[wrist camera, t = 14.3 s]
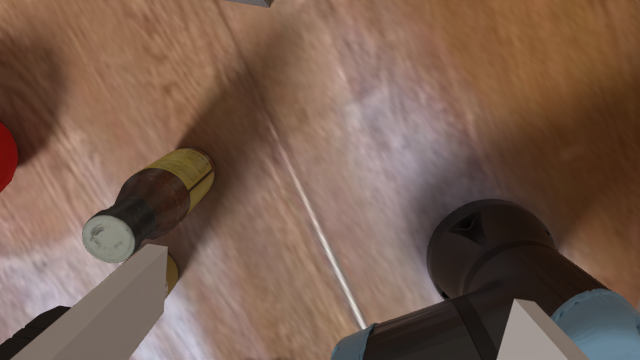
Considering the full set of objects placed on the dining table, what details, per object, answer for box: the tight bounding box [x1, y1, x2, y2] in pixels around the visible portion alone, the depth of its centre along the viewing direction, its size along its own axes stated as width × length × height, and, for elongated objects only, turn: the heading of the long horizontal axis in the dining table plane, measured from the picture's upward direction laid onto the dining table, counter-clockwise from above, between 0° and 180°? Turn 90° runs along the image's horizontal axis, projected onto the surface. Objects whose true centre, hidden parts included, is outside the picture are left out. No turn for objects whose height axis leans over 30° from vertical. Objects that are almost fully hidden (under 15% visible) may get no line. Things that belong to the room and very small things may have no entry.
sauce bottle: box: [82, 147, 215, 263], centre depth 39 cm, size 6×6×20 cm
